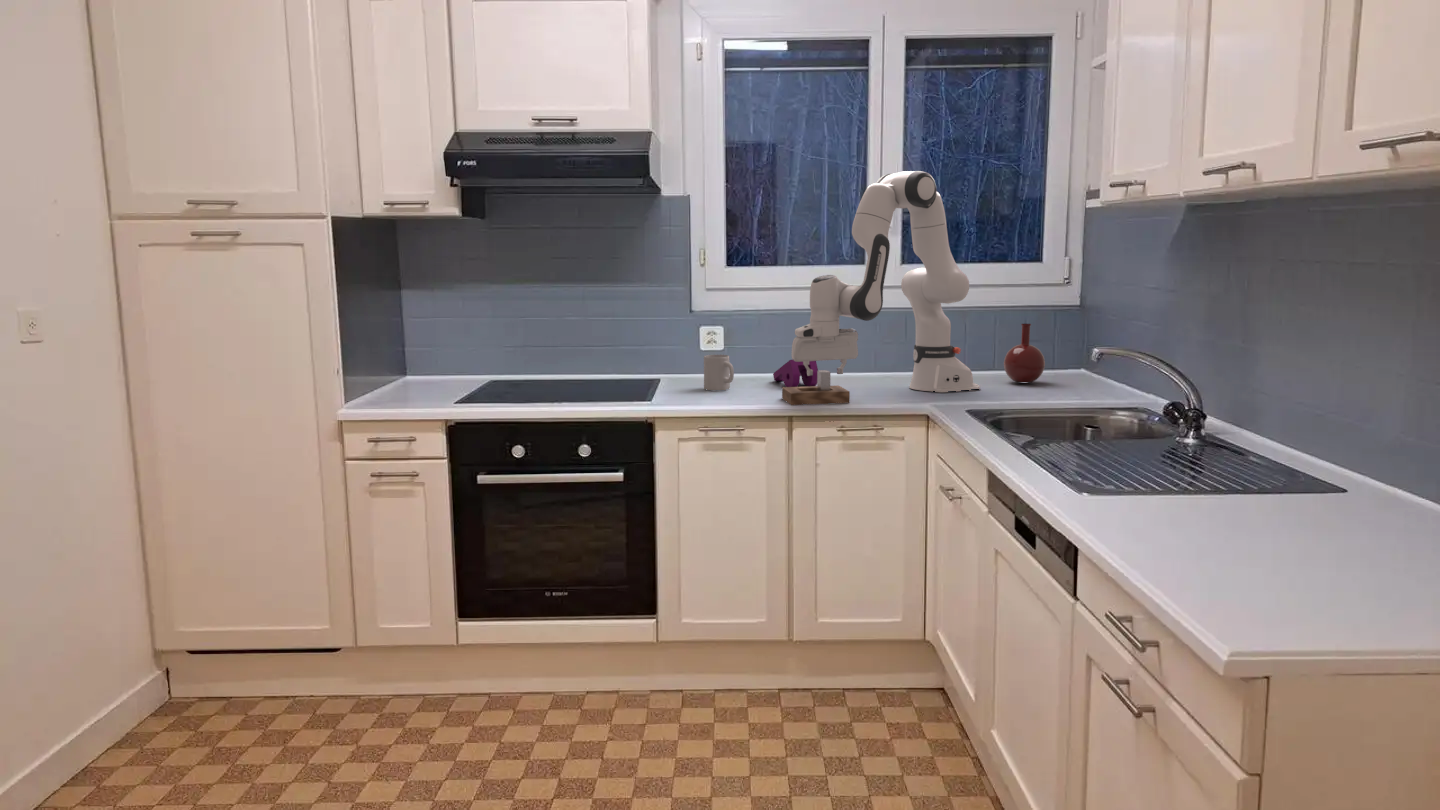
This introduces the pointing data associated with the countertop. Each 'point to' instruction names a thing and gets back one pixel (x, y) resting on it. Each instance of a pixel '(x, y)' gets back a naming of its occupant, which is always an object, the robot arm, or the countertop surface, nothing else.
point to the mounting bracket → (796, 374)
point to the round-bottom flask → (1024, 360)
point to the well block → (815, 395)
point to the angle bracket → (823, 380)
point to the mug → (717, 372)
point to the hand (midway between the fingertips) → (825, 374)
